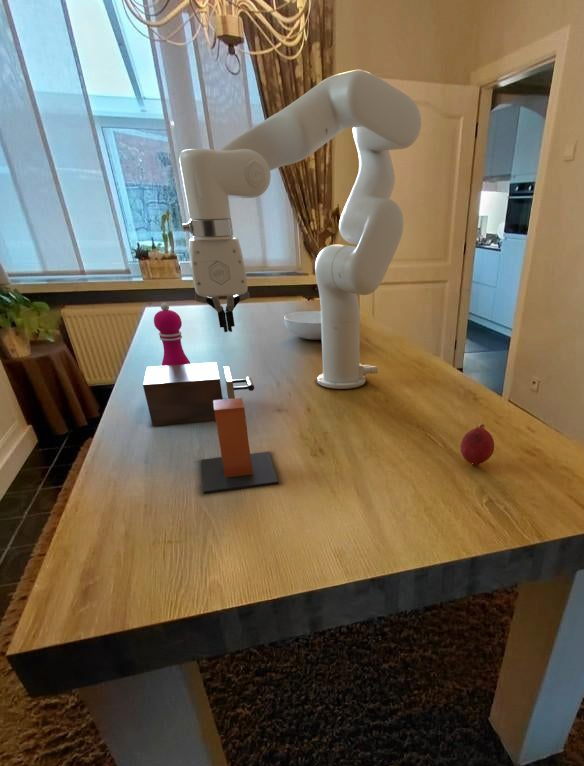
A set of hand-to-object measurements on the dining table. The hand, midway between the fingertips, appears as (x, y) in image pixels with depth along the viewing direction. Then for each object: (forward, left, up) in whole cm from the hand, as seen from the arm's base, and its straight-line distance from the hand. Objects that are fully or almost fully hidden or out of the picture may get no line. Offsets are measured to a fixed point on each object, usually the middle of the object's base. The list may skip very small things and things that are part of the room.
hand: (227, 330), depth 103 cm
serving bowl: (-31, -62, -17) cm, 71 cm away
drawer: (+5, 0, -16) cm, 17 cm away
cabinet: (+11, 0, -17) cm, 20 cm away
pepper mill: (+13, -17, -17) cm, 27 cm away
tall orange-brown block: (+3, +32, -16) cm, 36 cm away
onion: (-38, +41, -17) cm, 59 cm away
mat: (+3, +32, -17) cm, 36 cm away
